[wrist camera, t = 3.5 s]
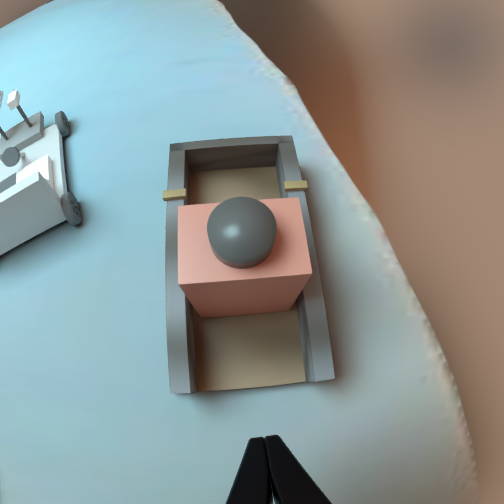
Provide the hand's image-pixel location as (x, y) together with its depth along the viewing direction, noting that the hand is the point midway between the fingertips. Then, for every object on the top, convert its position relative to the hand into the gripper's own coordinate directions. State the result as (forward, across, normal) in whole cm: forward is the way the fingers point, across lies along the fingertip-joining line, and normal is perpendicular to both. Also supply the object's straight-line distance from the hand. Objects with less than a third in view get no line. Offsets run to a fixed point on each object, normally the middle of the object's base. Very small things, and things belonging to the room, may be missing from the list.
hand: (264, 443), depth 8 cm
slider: (+14, 0, +2) cm, 15 cm away
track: (+17, 0, +1) cm, 17 cm away
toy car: (+25, +22, -8) cm, 34 cm away
